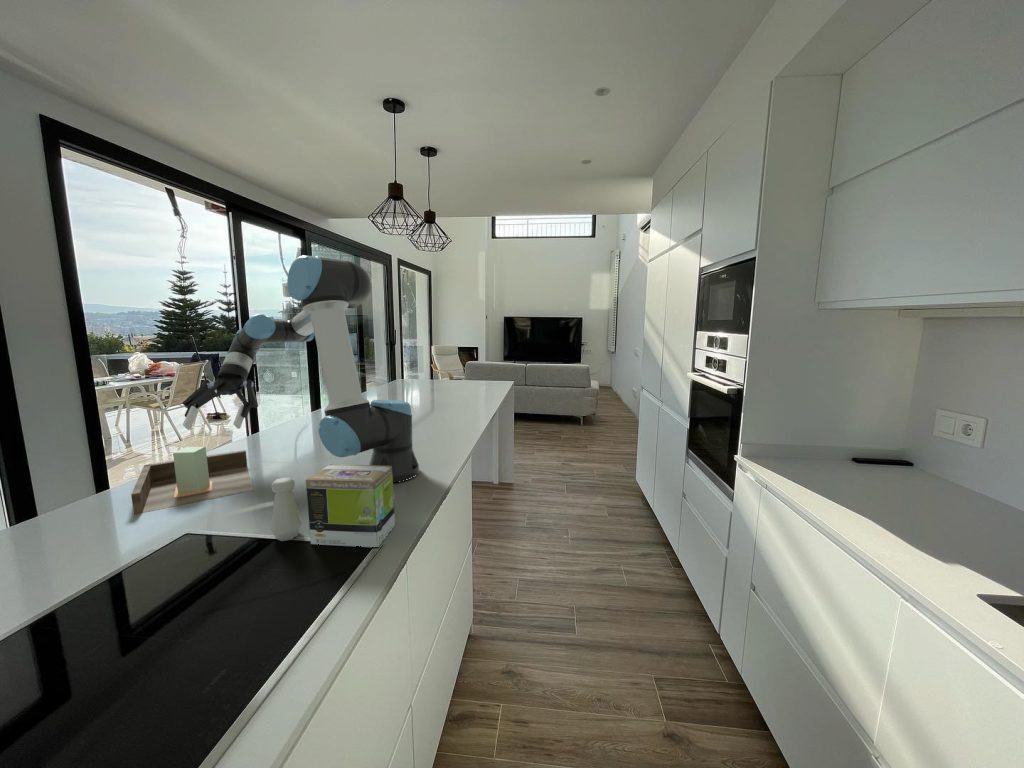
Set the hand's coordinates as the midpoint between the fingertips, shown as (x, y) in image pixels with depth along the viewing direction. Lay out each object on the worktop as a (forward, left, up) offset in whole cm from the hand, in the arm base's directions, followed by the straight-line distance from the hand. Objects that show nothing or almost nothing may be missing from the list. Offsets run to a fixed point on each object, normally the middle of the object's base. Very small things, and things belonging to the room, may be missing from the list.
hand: (211, 426), depth 119 cm
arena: (-7, +4, -16) cm, 18 cm away
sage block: (-9, +5, -15) cm, 18 cm away
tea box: (-57, -24, -16) cm, 64 cm away
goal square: (-9, +5, -15) cm, 18 cm away
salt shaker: (-49, -12, -16) cm, 53 cm away
